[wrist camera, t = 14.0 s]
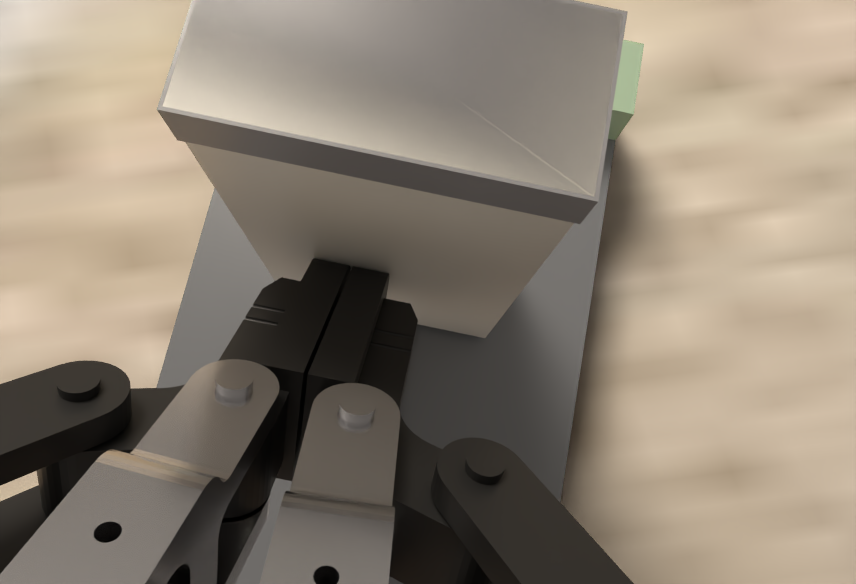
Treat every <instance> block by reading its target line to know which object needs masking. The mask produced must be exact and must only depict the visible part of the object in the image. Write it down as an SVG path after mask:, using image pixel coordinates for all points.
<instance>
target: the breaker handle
mask: <svg viewBox="0 0 856 584" xmlns="http://www.w3.org/2000/svg"><path fill="white" fill-rule="evenodd" d="M626 18H627V11H622V10H617V9H612V8H608V7H603V6H598V5H593V4H589V3H584V2H579V1H574V0H192V1H191V4H190V8H189V11H188V14H187V17H186V20H185V23H184V26H183V29H182V33H181V36H180V39H179V42H178V45H177V48H176V51H175V54H174V57H173V61H172V64H171V67H170V70H169V73H168V76H167V79H166V82H165V86H164V89H163V92H162V95H161V98H160V101H159V104H158V107H157V110H158V112H159V113H160V115H161V116H162V118H163V119H164V121H165V122H166V124H167V125H168V127H169V128H170V130H171V131H172V133H173V134H174V136H175V137H176V139H177V140H179V141H184V142H186V144H187V145H188V147H189V148H190V150H191V151H192V153H193V155H194V156H195V158H196V159H197V161H198V162H199V164H200V165H201V167H202V169H203V170H204V172H205V173H206V175H207V176H208V178H209V179H210V181H211V182H212V184H213V186H214V187H215V189H216V190H217V192H218V193H219V195H220V196H221V198H222V200H223V201H224V203H225V204H226V206H227V207H228V209H229V210H230V212H231V214H232V215H233V217H234V218H235V220H236V221H237V223H238V224H239V226H240V227H241V229H242V231H243V232H244V234H245V235H246V237H247V238H248V240H249V241H250V243H251V245H252V246H253V248H254V249H255V251H256V252H257V254H258V255H259V257H260V259H261V260H262V262H263V263H264V265H265V266H266V268H267V269H268V271H269V273H270V274H271V276H272V277H273V279H274V280H275V281H276V280H278V279H279V278H281V277H283V278H288V279H293V280H298V281H301V280H302V278H303V276H304V274H305V272H306V270H307V268H308V267H309V265H310V263H311V261H312V259H313V258H315V259H320V260H325V261H330V262H335V263H340V264H345V265H350V267H351V269H352V267H353V266H354V267H359V268H364V269H369V270H374V271H379V272H384V273H389V284H388V290H387V296H386V299H390V300H395V301H400V302H405V303H410V304H411V306H412V308H413V310H414V312H415V315H416V317H417V319H418V323H417V324H419V325H424V326H429V327H433V328H438V329H443V330H448V331H453V332H457V333H462V334H467V335H472V336H477V337H481V338H486V336H487V335H488V334H489V333H490V331H491V330H492V329H493V327H494V326H495V325H496V324H497V322H498V321H499V320H500V318H501V317H502V316H503V314H504V313H505V312H506V311H507V309H508V308H509V307H510V305H511V304H512V303H513V302H514V300H515V299H516V298H517V296H518V295H519V294H520V292H521V291H522V290H523V289H524V287H525V286H526V285H527V283H528V282H529V281H530V280H531V278H532V277H533V276H534V274H535V273H536V272H537V270H538V269H539V268H540V267H541V265H542V264H543V263H544V261H545V260H546V259H547V258H548V256H549V255H550V254H551V252H552V251H553V250H554V248H555V247H556V246H557V245H558V243H559V242H560V241H561V239H562V238H563V237H564V236H565V234H566V233H567V232H568V230H569V229H570V228H571V226H572V225H573V224H574V223H576V224H581V222H582V221H583V220H584V219H585V218H586V216H587V215H588V214H589V213H590V211H591V210H592V209H593V208H594V206H595V205H596V204H597V203H598V200H599V193H600V187H601V180H602V174H603V167H604V161H605V154H606V148H607V141H608V135H609V128H610V122H611V115H612V109H613V103H614V96H615V90H616V83H617V77H618V70H619V64H620V57H621V51H622V44H623V38H624V31H625V25H626Z"/></svg>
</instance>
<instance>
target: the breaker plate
mask: <svg viewBox="0 0 856 584" xmlns="http://www.w3.org/2000/svg"><path fill="white" fill-rule="evenodd" d="M643 47H644V44H641V43H637V42H632V41H627V40H623V44H622V51H621V57H620V64H619V70H618V77H617V83H616V90H615V96H614V103H613V109H612V115H611V122H610V128H609V135H608V141H607V148H606V154H605V161H604V167H603V174H602V180H601V187H600V193H599V200H598V203H597V204H596V205H595V206H594V208H593V209H592V210H591V211H590V213H589V214H588V215H587V216H586V218H585V219H584V220H583V221H582V222H581V224H576V223H574V224H573V225H572V226H571V228H570V229H569V230H568V232H567V233H566V234H565V236H564V237H563V238H562V239H561V241H560V242H559V243H558V245H557V246H556V247H555V248H554V250H553V251H552V252H551V254H550V255H549V256H548V258H547V259H546V260H545V261H544V263H543V264H542V265H541V267H540V268H539V269H538V270H537V272H536V273H535V274H534V276H533V277H532V278H531V280H530V281H529V282H528V283H527V285H526V286H525V287H524V289H523V290H522V291H521V292H520V294H519V295H518V296H517V298H516V299H515V300H514V302H513V303H512V304H511V305H510V307H509V308H508V309H507V311H506V312H505V313H504V314H503V316H502V317H501V318H500V320H499V321H498V322H497V324H496V325H495V326H494V327H493V329H492V330H491V331H490V333H489V334H488V335H487V336H486V338H481V337H477V336H472V335H467V334H462V333H457V332H453V331H448V330H443V329H438V328H433V327H429V326H424V325H419V324H417V328H416V333H415V338H414V343H413V348H412V353H411V358H410V363H409V368H408V373H407V378H406V383H405V388H404V393H403V397H402V402H401V407H400V413H401V416H402V419H403V421H404V422H405V424H406V425H407V427H408V428H409V429H410V430H411V431H412V432H413V433H414V434H415V435H417V436H418V437H420V438H421V439H423V440H424V441H426V442H428V443H430V444H432V445H434V446H436V447H438V448H441V449H443V448H444V447H445V446H446V445H448V444H449V443H451V442H453V441H455V440H458V439H462V438H471V437H472V438H483V439H488V440H491V441H494V442H497V443H499V444H502V445H503V446H505V447H507V448H509V449H510V450H511V451H513V452H514V453H515V454H516V455H517V456H518V457H519V458H520V459H521V460H522V461H523V462H524V463H525V464H526V465H527V467H528V468H529V469H530V470H531V471H532V472H533V473H534V474H535V475H536V477H537V478H538V479H539V480H540V481H541V482H542V483H543V484H544V485H545V486H546V488H547V489H548V490H549V491H550V492H551V493H552V494H553V495H554V496H555V497H556V499H557V500H558V501H559V502H561V495H562V489H563V482H564V475H565V469H566V462H567V456H568V449H569V442H570V436H571V429H572V423H573V416H574V409H575V403H576V396H577V390H578V383H579V376H580V370H581V363H582V357H583V350H584V343H585V337H586V330H587V324H588V317H589V310H590V304H591V297H592V291H593V284H594V277H595V271H596V264H597V258H598V251H599V245H600V238H601V231H602V225H603V218H604V212H605V205H606V198H607V192H608V185H609V179H610V172H611V165H612V159H613V152H614V146H615V140H616V139H617V137H618V136H619V134H620V133H621V132H622V130H623V129H624V127H625V126H626V124H627V123H628V122H629V120H630V119H631V117H632V116H633V114H634V108H635V102H636V95H637V88H638V81H639V74H640V67H641V61H642V54H643ZM274 281H275V280H274V279H273V277H272V276H271V274H270V273H269V271H268V269H267V268H266V266H265V265H264V263H263V262H262V260H261V259H260V257H259V255H258V254H257V252H256V251H255V249H254V248H253V246H252V245H251V243H250V241H249V240H248V238H247V237H246V235H245V234H244V232H243V231H242V229H241V227H240V226H239V224H238V223H237V221H236V220H235V218H234V217H233V215H232V214H231V212H230V210H229V209H228V207H227V206H226V204H225V203H224V201H223V200H222V198H221V196H220V195H219V193H218V192H217V190H216V189H215V188H214V192H213V195H212V199H211V202H210V206H209V209H208V212H207V216H206V219H205V223H204V226H203V230H202V233H201V236H200V240H199V243H198V247H197V250H196V254H195V257H194V260H193V264H192V267H191V271H190V274H189V278H188V281H187V285H186V288H185V291H184V295H183V298H182V302H181V305H180V309H179V312H178V315H177V319H176V322H175V326H174V329H173V333H172V336H171V339H170V343H169V346H168V350H167V353H166V357H165V360H164V364H163V367H162V370H161V374H160V377H159V381H158V384H157V388H169V387H176V386H181V385H185V384H186V383H187V381H188V380H189V379H190V378H191V376H192V375H193V374H194V373H195V372H196V371H197V370H199V369H200V368H202V367H204V366H205V365H207V364H210V363H213V362H216V361H218V360H219V359H220V357H221V356H222V354H223V352H224V351H225V349H226V347H227V346H228V344H229V342H230V341H231V339H232V338H233V336H234V334H235V333H236V331H237V329H238V328H239V326H240V325H241V323H242V321H243V320H244V319H245V317H246V315H247V313H248V311H249V310H250V308H251V307H253V303H254V302H255V300H256V298H257V297H258V295H259V294H260V292H261V290H262V289H263V288H264V287H266V286H268V285H269V284H271V283H273V282H274ZM291 484H292V481H288V480H283V479H278V478H276V479H275V482H274V484H273V487H272V489H271V495H270V507H269V514H268V517H267V520H266V522H265V524H264V526H263V528H262V530H261V532H260V534H259V536H258V538H257V540H256V542H255V544H254V546H253V548H252V550H251V552H250V554H249V556H248V558H247V560H246V562H245V564H244V566H243V568H242V571H241V573H240V575H239V577H238V579H237V581H236V583H235V584H259V583H260V580H261V576H262V572H263V569H264V565H265V561H266V557H267V554H268V550H269V546H270V543H271V539H272V535H273V532H274V528H275V524H276V520H277V517H278V513H279V509H280V506H281V502H282V499H283V496H284V493H285V491H290V488H291ZM389 584H403V583H401V582H399V581H397V580H396V579H394V578H392V577H390V576H389Z"/></svg>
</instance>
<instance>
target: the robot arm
mask: <svg viewBox="0 0 856 584" xmlns="http://www.w3.org/2000/svg"><path fill="white" fill-rule="evenodd" d="M388 284H389V273H384V272H379V271H374V270H369V269H364V268H359V267H354V266H353V267H352V269H351V267H350V265H345V264H340V263H335V262H330V261H325V260H320V259H315V258H313V259H312V261H311V263H310V265H309V267H308V268H307V270H306V272H305V274H304V276H303V278H302V280H301V281H298V280H293V279H288V278H283V277H281V278H279V279H278V280H276V281H274V282H273V283H271V284H269V285H268V286H266V287H264V288H263V289H262V290H261V292H260V294H259V295H258V297H257V298H256V300H255V302H254V303H253V307H251V308H250V310H249V311H248V313H247V315H246V317H245V319H244V320H243V321H242V323H241V325H240V326H239V328H238V329H237V331H236V333H235V334H234V336H233V338H232V339H231V341H230V342H229V344H228V346H227V347H226V349H225V351H224V352H223V354H222V356H221V357H220V359H219V360H218V361H216V362H213V363H210V364H207V365H205V366H204V367H202V368H200V369H199V370H197V371H196V372H195V373H194V374H193V375H192V376H191V378H190V379H189V380H188V381H187V383H186V384H185V385H181V386H176V387H169V388H141V389H130V381H129V378H128V377H127V375H126V374H125V373H124V372H123V371H122V370H121V369H119V368H117V367H116V366H113V365H111V364H108V363H104V362H98V361H75V362H69V363H65V364H61V365H58V366H55V367H52V368H49V369H46V370H43V371H40V372H37V373H33V374H30V375H27V376H24V377H21V378H18V379H15V380H12V381H9V382H6V383H3V384H0V485H3V484H5V483H8V482H10V481H12V480H15V479H17V478H20V477H22V476H24V475H27V474H29V473H32V472H34V471H36V470H37V476H38V483H39V485H38V486H36V487H33V488H31V489H29V490H26V491H24V492H22V493H19V494H17V495H15V496H12V497H10V498H8V499H5V500H3V501H1V502H0V584H235V583H236V581H237V579H238V577H239V575H240V573H241V571H242V568H243V566H244V564H245V562H246V560H247V558H248V556H249V554H250V552H251V550H252V548H253V546H254V544H255V542H256V540H257V538H258V536H259V534H260V532H261V530H262V528H263V526H264V524H265V522H266V520H267V517H268V514H269V507H270V495H271V489H272V487H273V484H274V482H275V479H276V478H278V479H283V480H288V481H292V484H291V488H290V491H285V493H284V496H283V499H282V502H281V506H280V509H279V513H278V517H277V520H276V524H275V528H274V532H273V535H272V539H271V543H270V546H269V550H268V554H267V557H266V561H265V565H264V569H263V572H262V576H261V580H260V583H259V584H389V576H390V577H392V578H394V579H396V580H397V581H399V582H401V583H403V584H633V582H632V581H631V580H630V579H629V578H628V577H627V576H626V575H625V574H624V573H623V571H622V570H621V569H620V568H619V567H618V566H617V565H616V564H615V563H614V562H613V560H612V559H611V558H610V557H609V556H608V555H607V554H606V553H605V552H604V550H603V549H602V548H601V547H600V546H599V545H598V544H597V543H596V542H595V541H594V539H593V538H592V537H591V536H590V535H589V534H588V533H587V532H586V531H585V530H584V528H583V527H582V526H581V525H580V524H579V523H578V522H577V521H576V520H575V518H574V517H573V516H572V515H571V514H570V513H569V512H568V511H567V510H566V509H565V507H564V506H563V505H562V504H561V503H560V502H559V501H558V500H557V499H556V497H555V496H554V495H553V494H552V493H551V492H550V491H549V490H548V489H547V488H546V486H545V485H544V484H543V483H542V482H541V481H540V480H539V479H538V478H537V477H536V475H535V474H534V473H533V472H532V471H531V470H530V469H529V468H528V467H527V465H526V464H525V463H524V462H523V461H522V460H521V459H520V458H519V457H518V456H517V455H516V454H515V453H514V452H513V451H511V450H510V449H509V448H507V447H505V446H503V445H502V444H499V443H497V442H494V441H491V440H488V439H483V438H472V437H471V438H462V439H458V440H455V441H453V442H451V443H449V444H448V445H446V446H445V447H444V448H443V449H441V448H438V447H436V446H434V445H432V444H430V443H428V442H426V441H424V440H423V439H421V438H420V437H418V436H417V435H415V434H414V433H413V432H412V431H411V430H410V429H409V428H408V427H407V425H406V424H405V422H404V421H403V419H402V416H401V413H400V407H401V402H402V397H403V393H404V388H405V383H406V378H407V373H408V368H409V363H410V358H411V353H412V348H413V343H414V338H415V333H416V328H417V323H418V319H417V317H416V315H415V312H414V310H413V308H412V306H411V304H410V303H405V302H400V301H395V300H390V299H386V296H387V290H388Z"/></svg>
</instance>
